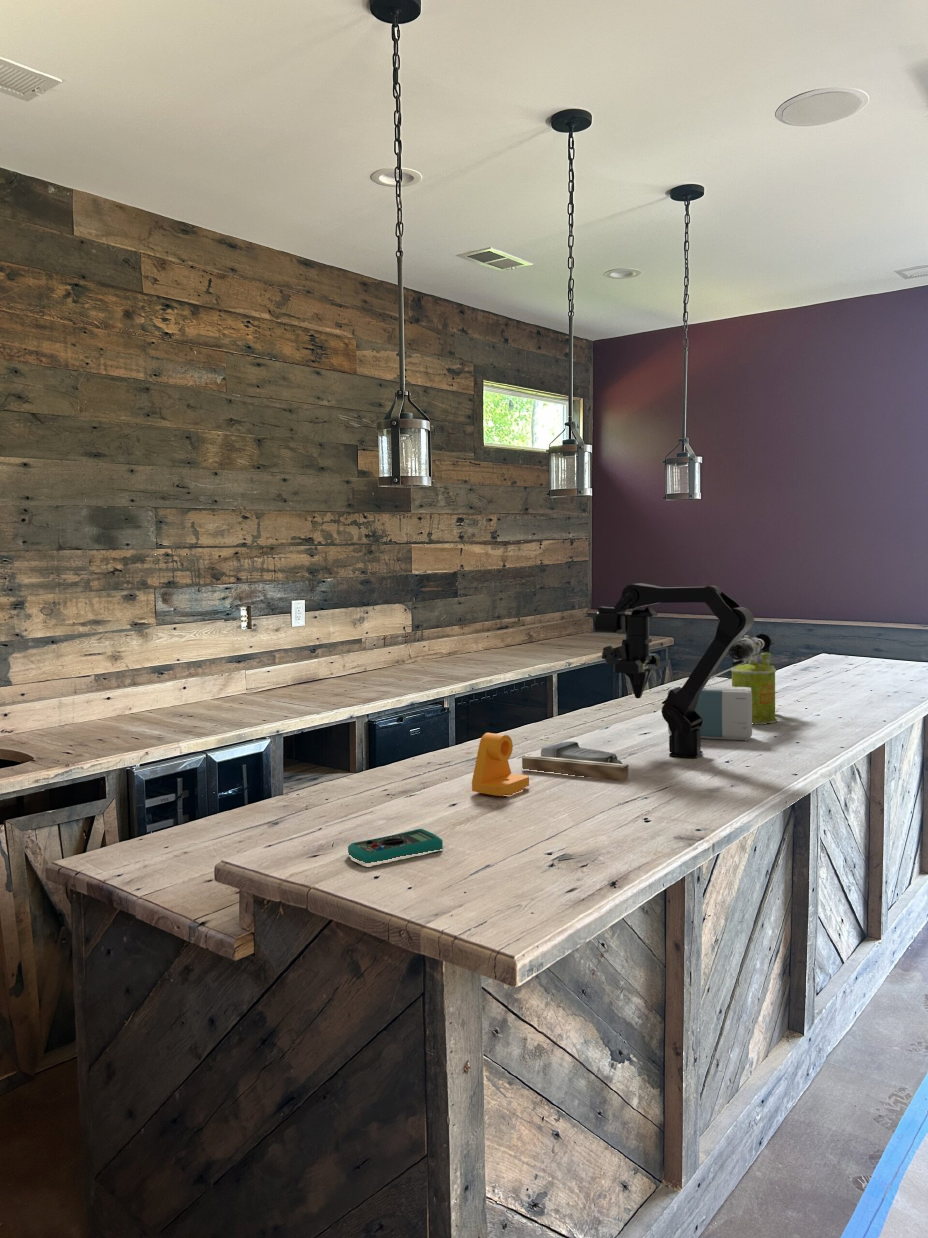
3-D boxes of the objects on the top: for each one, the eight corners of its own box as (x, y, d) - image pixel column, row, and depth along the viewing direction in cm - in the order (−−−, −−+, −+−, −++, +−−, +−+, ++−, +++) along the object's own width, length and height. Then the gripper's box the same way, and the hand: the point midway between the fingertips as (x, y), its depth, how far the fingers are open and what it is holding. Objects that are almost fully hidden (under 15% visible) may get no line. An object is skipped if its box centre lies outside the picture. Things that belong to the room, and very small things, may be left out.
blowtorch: (790, 713, 270) (790, 629, 268) (761, 732, 242) (761, 639, 240) (745, 710, 277) (745, 628, 275) (712, 728, 249) (712, 637, 247)
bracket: (500, 800, 182) (499, 741, 181) (472, 795, 186) (470, 737, 185) (531, 788, 190) (530, 732, 189) (503, 784, 195) (502, 728, 194)
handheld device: (611, 777, 199) (610, 756, 199) (536, 765, 212) (536, 746, 212) (633, 768, 206) (633, 748, 206) (560, 758, 219) (559, 739, 219)
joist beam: (628, 778, 196) (628, 763, 196) (623, 781, 194) (623, 766, 194) (528, 768, 208) (527, 754, 208) (522, 770, 206) (522, 756, 205)
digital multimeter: (344, 859, 149) (343, 842, 149) (423, 842, 157) (422, 825, 157) (363, 872, 143) (363, 854, 143) (444, 853, 151) (444, 836, 151)
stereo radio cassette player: (667, 738, 238) (666, 662, 236) (672, 732, 245) (672, 659, 244) (751, 743, 230) (750, 664, 228) (753, 736, 237) (753, 660, 236)
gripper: (618, 631, 234) (619, 691, 235) (592, 637, 218) (593, 702, 219) (660, 631, 229) (661, 693, 230) (637, 638, 213) (638, 704, 214)
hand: (638, 698), depth 223 cm, fingers closed
